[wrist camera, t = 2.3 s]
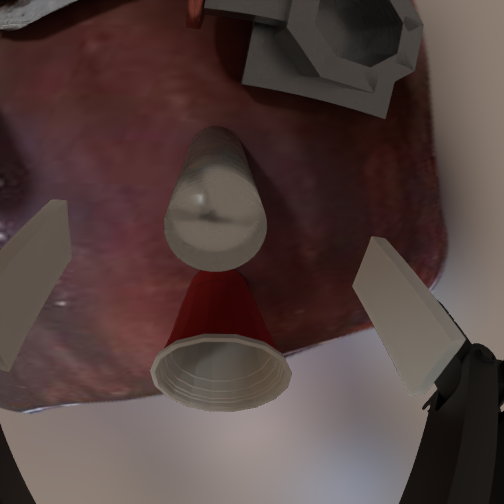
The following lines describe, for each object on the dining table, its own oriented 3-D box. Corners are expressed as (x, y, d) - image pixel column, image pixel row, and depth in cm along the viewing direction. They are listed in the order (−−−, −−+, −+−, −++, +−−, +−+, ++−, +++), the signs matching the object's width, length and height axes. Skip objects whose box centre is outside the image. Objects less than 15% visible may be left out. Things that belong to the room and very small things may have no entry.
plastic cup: (147, 300, 33) (128, 393, 22) (200, 223, 29) (194, 313, 19) (230, 339, 37) (238, 428, 27) (290, 277, 33) (321, 368, 23)
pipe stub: (192, 123, 24) (168, 174, 12) (246, 130, 25) (276, 187, 13) (186, 173, 26) (162, 266, 14) (237, 179, 27) (256, 275, 15)
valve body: (212, -52, 16) (212, -88, 10) (399, 0, 19) (445, -11, 13) (184, 76, 22) (173, 76, 16) (374, 115, 25) (417, 131, 19)
